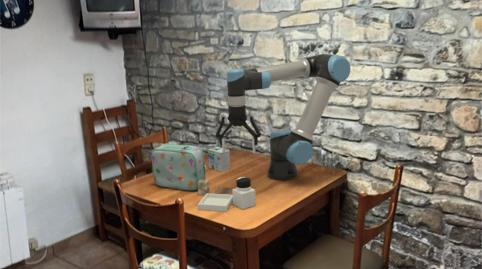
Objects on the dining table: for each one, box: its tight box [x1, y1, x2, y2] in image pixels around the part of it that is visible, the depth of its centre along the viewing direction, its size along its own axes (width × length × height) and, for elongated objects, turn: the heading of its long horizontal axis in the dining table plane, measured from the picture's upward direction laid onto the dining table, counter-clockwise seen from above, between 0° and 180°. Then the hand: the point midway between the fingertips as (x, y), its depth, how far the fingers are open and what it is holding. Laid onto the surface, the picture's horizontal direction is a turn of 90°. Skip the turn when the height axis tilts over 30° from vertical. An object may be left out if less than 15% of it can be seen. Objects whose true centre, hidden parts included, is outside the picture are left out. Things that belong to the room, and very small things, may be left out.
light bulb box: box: [207, 146, 231, 173], centre depth 241 cm, size 11×7×11 cm, turn 42°
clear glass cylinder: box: [197, 179, 210, 196], centre depth 206 cm, size 4×4×6 cm
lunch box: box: [151, 142, 207, 192], centre depth 215 cm, size 27×10×21 cm, turn 66°
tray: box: [197, 192, 233, 212], centre depth 193 cm, size 13×13×2 cm
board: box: [213, 186, 236, 195], centre depth 204 cm, size 10×8×2 cm
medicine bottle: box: [232, 176, 257, 210], centre depth 191 cm, size 7×7×12 cm
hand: (239, 152), depth 200 cm, fingers open, 13 cm apart
